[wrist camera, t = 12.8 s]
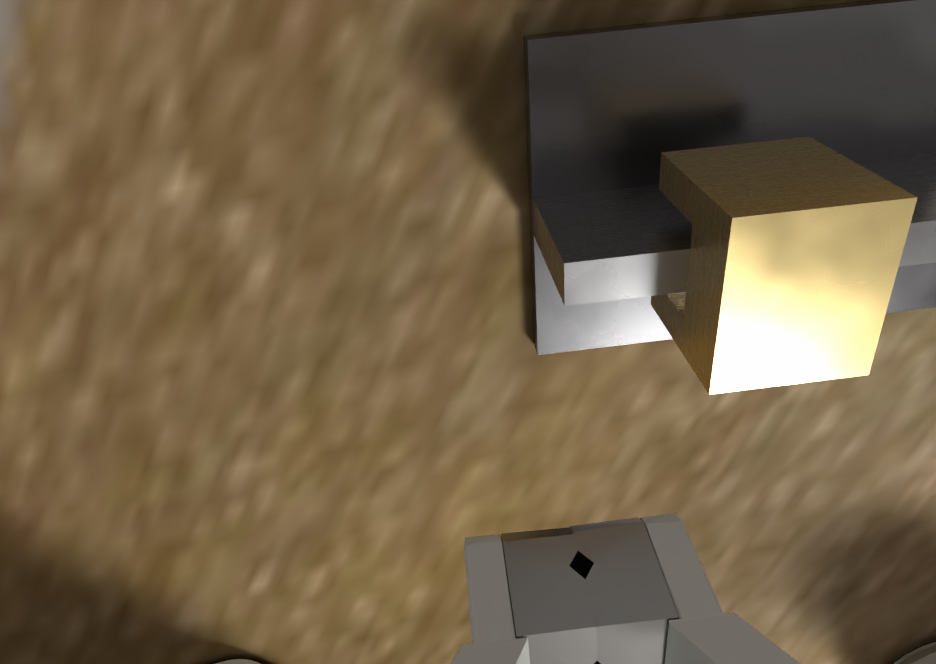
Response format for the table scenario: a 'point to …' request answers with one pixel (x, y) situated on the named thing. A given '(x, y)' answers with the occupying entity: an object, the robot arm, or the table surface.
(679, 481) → the table surface
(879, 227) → the clip
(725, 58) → the rail
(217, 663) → the robot arm
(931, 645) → the can
